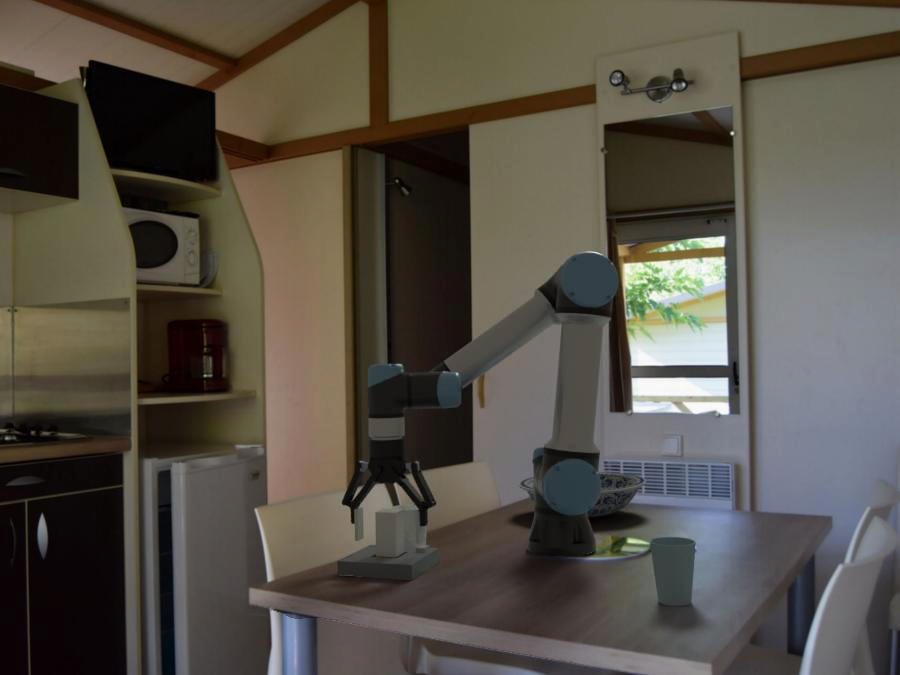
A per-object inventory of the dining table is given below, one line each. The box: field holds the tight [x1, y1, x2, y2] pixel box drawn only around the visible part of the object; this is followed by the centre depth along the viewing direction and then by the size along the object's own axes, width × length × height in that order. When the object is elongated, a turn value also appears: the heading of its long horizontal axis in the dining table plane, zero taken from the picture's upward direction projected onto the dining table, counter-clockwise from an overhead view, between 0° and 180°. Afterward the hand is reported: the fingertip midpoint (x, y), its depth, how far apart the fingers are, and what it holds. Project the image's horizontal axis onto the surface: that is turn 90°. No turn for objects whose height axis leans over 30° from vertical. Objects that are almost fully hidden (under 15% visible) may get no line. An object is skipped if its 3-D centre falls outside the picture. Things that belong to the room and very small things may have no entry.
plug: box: [374, 508, 404, 558], centre depth 178 cm, size 4×4×12 cm
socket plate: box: [336, 544, 440, 581], centre depth 178 cm, size 16×16×4 cm
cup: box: [649, 536, 697, 607], centre depth 148 cm, size 8×8×10 cm
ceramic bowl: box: [518, 471, 647, 518], centre depth 234 cm, size 34×34×10 cm
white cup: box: [391, 503, 428, 547], centre depth 194 cm, size 8×8×10 cm
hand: (389, 541), depth 178 cm, fingers open, 13 cm apart
